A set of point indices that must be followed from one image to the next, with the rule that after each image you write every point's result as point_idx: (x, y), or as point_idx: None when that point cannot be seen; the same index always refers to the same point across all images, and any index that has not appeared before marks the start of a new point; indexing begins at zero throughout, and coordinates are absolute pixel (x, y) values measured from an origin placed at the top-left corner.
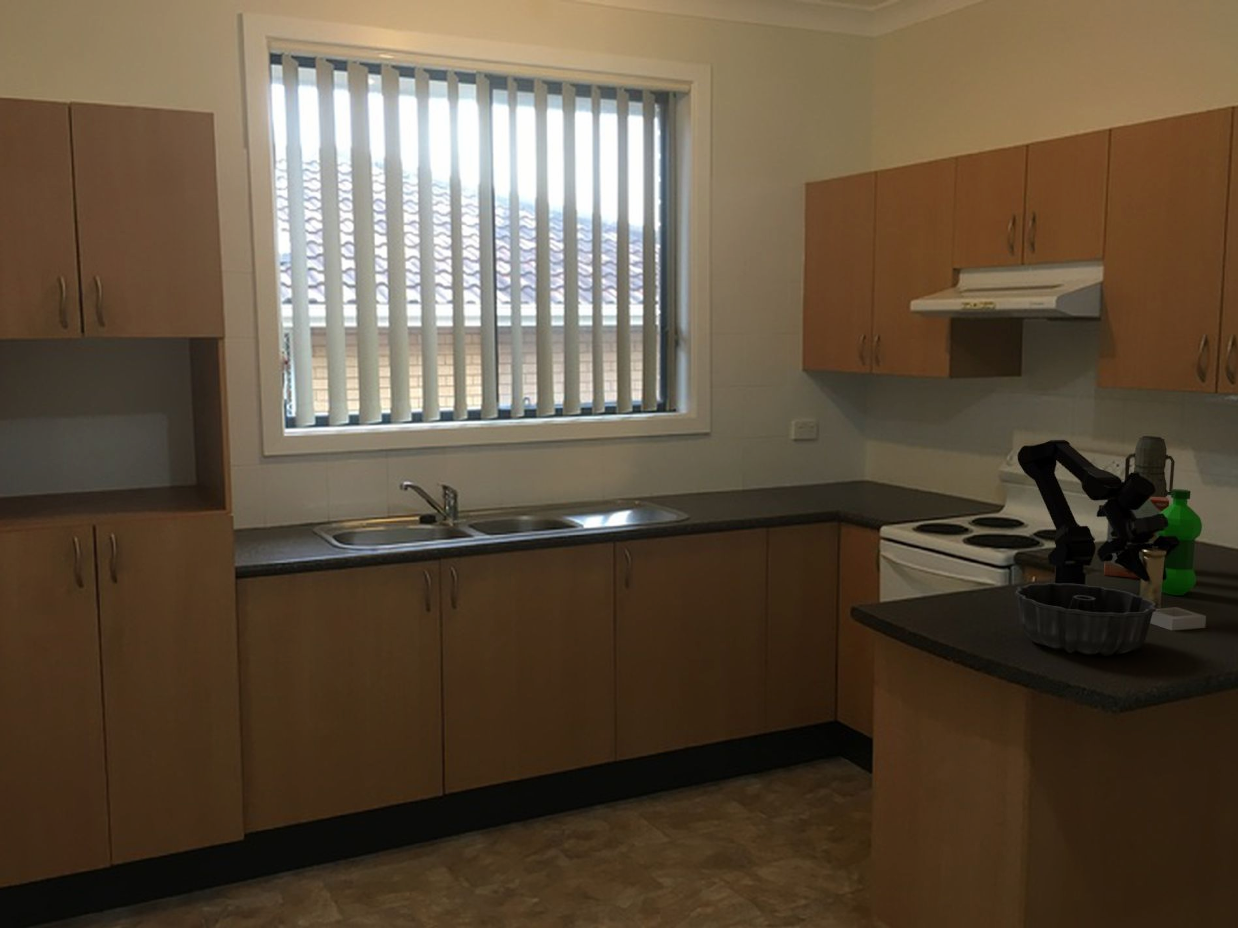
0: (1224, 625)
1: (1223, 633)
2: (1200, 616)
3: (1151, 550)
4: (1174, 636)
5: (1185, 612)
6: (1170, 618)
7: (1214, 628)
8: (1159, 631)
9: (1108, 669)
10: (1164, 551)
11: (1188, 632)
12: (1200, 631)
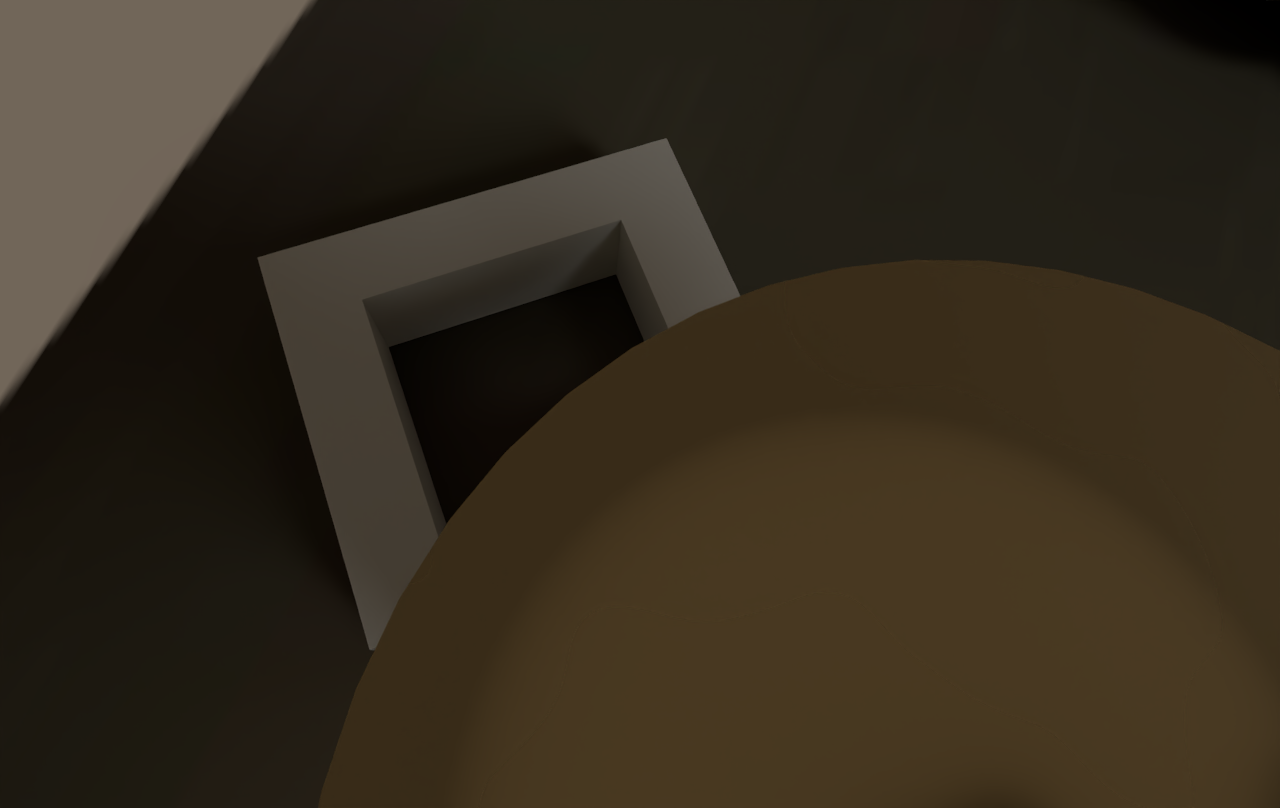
0: (40, 404)
1: (247, 141)
2: (327, 242)
3: (1227, 758)
4: (708, 46)
5: (395, 403)
6: (675, 162)
7: (222, 289)
8: (771, 169)
9: None
10: (544, 529)
11: (539, 154)
12: (417, 188)
